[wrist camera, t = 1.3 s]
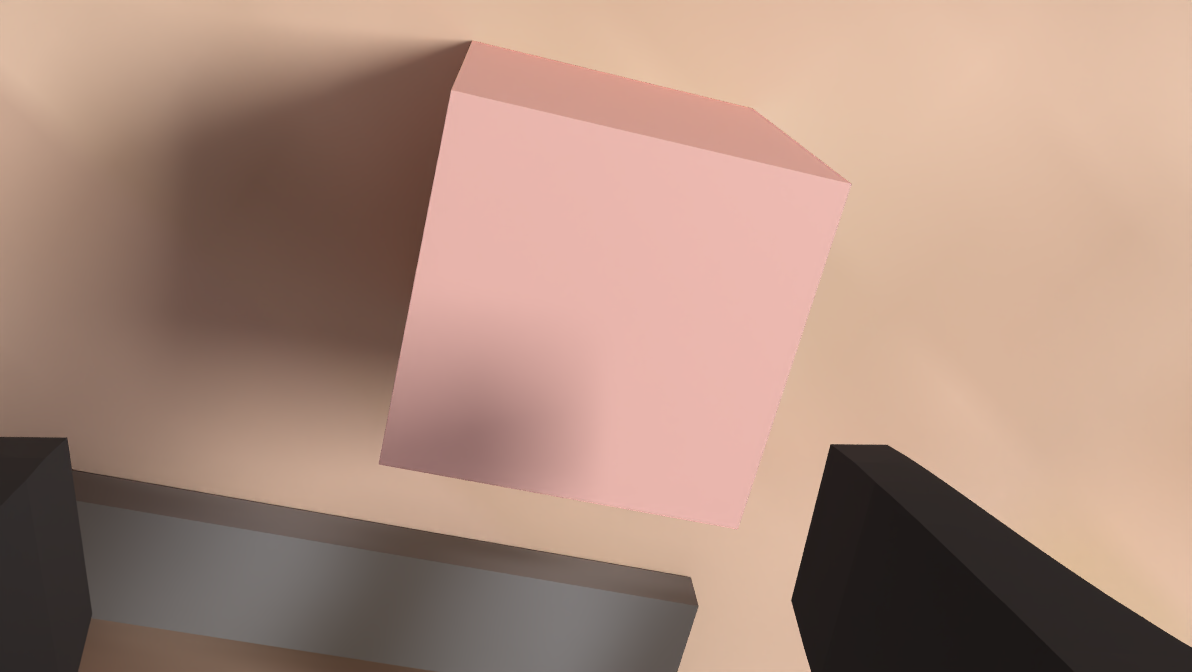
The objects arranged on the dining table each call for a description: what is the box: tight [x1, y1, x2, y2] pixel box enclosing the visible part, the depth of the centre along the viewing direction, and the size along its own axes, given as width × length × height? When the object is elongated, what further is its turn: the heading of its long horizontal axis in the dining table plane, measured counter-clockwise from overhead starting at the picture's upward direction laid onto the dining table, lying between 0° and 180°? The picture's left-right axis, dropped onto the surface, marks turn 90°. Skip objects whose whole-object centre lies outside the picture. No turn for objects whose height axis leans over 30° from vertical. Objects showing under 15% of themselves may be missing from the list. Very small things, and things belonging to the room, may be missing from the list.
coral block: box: [379, 41, 852, 529], centre depth 16 cm, size 5×5×6 cm
